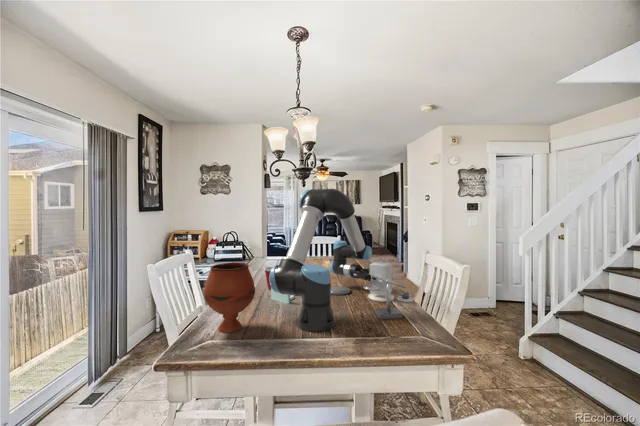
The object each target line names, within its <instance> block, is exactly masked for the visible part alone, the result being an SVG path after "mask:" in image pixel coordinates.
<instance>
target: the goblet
mask: <svg viewBox="0 0 640 426" xmlns="http://www.w3.org/2000/svg"><path fill="white" fill-rule="evenodd" d="M209 269H210V270H209V273H208V276H207V278H206V281H205V284H204V288H203V296H204V300H205V302H206V305H207V306H208V307H209V308H211V310H213V311H214V312H215V313H217V314H219V315H222V318H223V319H224V320H223V321H222V322H221V323H220V325H219V326H218V328H217V330H218V331H219V332H222V333H224V334H225V333H234V332H237V331H240V329H242V324H241V322H240V321H239V319H238V317H239V314H240V313H241V312H243V311H244V310H246V309H247V308H248V307H249V305H250V304H251V303H252V302H253V300H254V298H255V295H256V287H255V282H254V279H253V276H252V273H251V271H250V269H249V263H247V262H225V263H217V264H213V265H212V266H211V267H210V268H209Z"/></svg>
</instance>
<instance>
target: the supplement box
mask: <svg viewBox="0 0 640 426" xmlns="http://www.w3.org/2000/svg"><path fill="white" fill-rule="evenodd" d="M369 268H370V273H369V274H370V275H371V274H373V275H378V276H383V278H385V279H388V278H389V279H391V281H393V278H392V272H393V264H392V262H383V261H375V262H372V263H370V264H369ZM370 284H371V281H369V285H370ZM372 285H378V286H380V290H377V291H369V294H370V293H372V294H379V295H385V296H386V282H385V281H383V282H379V281H374V280H372ZM391 293H393V284H391Z"/></svg>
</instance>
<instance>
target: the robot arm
mask: <svg viewBox="0 0 640 426" xmlns="http://www.w3.org/2000/svg"><path fill="white" fill-rule="evenodd" d="M298 201H299V203H298V207H299V209H300V213H301V217H300V218H299V222H298V224H297V227H296V229H295V233H294V235H293V237H292V240H291V243H290V245H289V248H288V250H287V253H286V256H285V257H283V258H282V257H281V259H280V261H279V264H275V265H274V266H271V267H272V269H271V271H270V275H269V282H270V286H271V288H272V290H273V291H275V292H277V293H281V294H287V295H293V296H294V297H301V308H300V311H299V314H298V317H297V326H298V328H300V329H301V330H304V331H307V332H325V331H328V330H331V329H333V328H335V326H336V317H335V315H334V311H333V308H332V303H331V302H332V301H331V300H332V299H331V297H332V294H331V287H332V286H331V285H332V279H331V274H335V275H336V276H338V275H339V276H344V277H348V278H349V279H350V278H353V279H361V280H364V281H368V282H370V281H371V275H372V274H371V275H370V267H368V268H365V267H364V268H363V267H362V265H361V264H357V263H351V262H347V261H348V259H353V260H362V261H365V260H368V261H370V259H372V256H373V249H372V247H371V246H369V245H366V244H365V241H364V238H363V235H362V233H361V230H360V227H359V223H358V221H357V218H356V216H355V211H356V210H355V207H354V205H353V204H354V203H352V200H351V199H350V198H349V197H348V196H347V194H345V193H343V192H342V191H341V190H339V189H337V188H320V189H319V188H318V189H317V188H311V189H306V190H304V191H302V193H301V194H300V195H299V199H298ZM329 213H330V214H331V213H332V214H334V215H335V217H336V218H337V219H339V221H340V223H341V226H342V228H343V230H344V233H345V235H346V238H347V241H348V243H349V244H348V243H347V241H345V240H335V241H334V242H333V260H332V261H331V262H330V264H329V266H328V268H327V267H326V266H323V265H319V264H305V262H306V259H307V256H308V254H309V251H310V247H311V245H312V242H313V239H314V236H315V234H316V230H317V227H318V225H319V221H321V220H322V219H324V217H325V215H326V214H329ZM376 276H378V275H376ZM379 277H382V278H383V276H379ZM392 279H395V272H393V271H392ZM372 280H374V281H379V282H383V281H382V280H379V279H376V278H373V277H372Z"/></svg>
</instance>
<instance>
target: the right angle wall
mask: <svg viewBox="0 0 640 426" xmlns="http://www.w3.org/2000/svg"><path fill="white" fill-rule="evenodd" d="M270 298H271V300H273V301H277V302H280V303H285V304H288V305H289V304H290V301H293V300H294V299H295V296H294V295H287V294H281V293H277V292H275V291H273V290H272V288H271V290H270Z"/></svg>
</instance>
